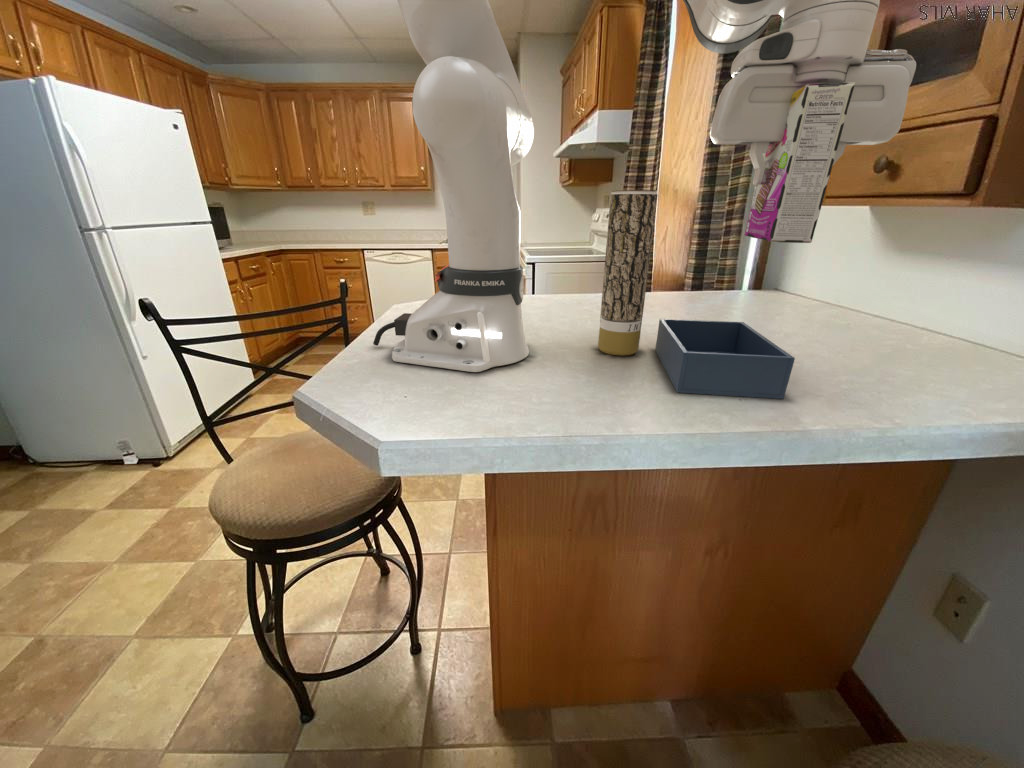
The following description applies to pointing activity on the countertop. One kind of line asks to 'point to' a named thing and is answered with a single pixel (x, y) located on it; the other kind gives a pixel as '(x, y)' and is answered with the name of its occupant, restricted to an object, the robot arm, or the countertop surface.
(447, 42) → the robot arm
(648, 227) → the paper tube
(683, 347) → the tote
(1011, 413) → the countertop surface
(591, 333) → the countertop surface
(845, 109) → the candy bar box
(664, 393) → the countertop surface
